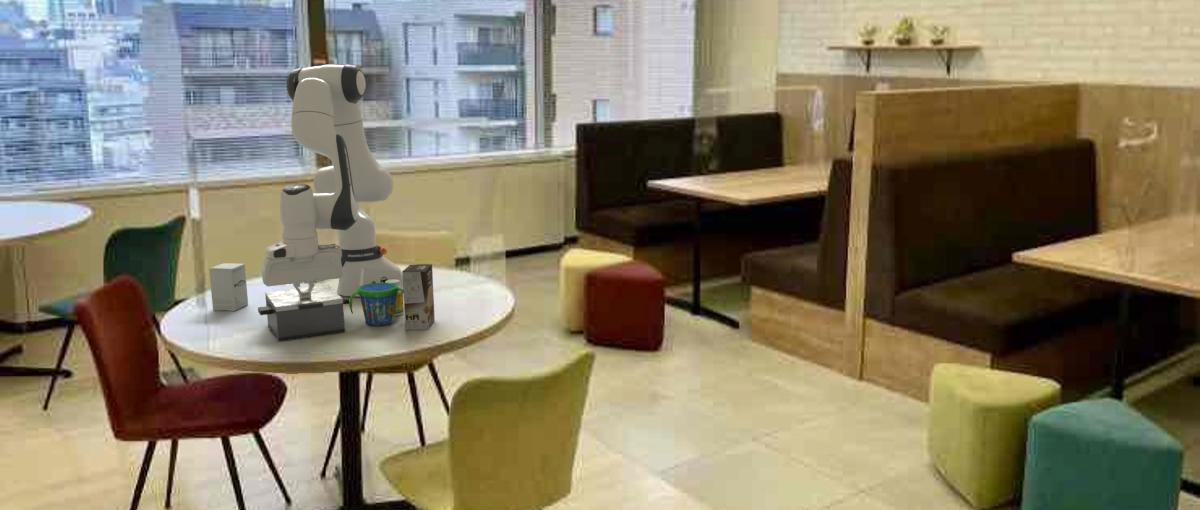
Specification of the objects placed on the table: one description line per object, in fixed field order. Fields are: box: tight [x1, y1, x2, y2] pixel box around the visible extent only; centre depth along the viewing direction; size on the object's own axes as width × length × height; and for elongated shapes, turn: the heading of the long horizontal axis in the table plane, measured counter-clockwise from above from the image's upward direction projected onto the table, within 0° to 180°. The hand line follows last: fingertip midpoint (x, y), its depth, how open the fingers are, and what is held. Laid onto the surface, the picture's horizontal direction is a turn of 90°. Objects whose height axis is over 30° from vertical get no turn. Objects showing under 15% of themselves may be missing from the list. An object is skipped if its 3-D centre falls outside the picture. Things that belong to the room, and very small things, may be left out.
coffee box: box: [401, 263, 436, 331], centre depth 263 cm, size 9×6×16 cm
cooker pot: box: [257, 296, 350, 342], centre depth 262 cm, size 23×17×8 cm
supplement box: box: [208, 262, 249, 312], centre depth 285 cm, size 7×7×13 cm
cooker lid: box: [264, 284, 343, 312], centre depth 260 cm, size 17×19×1 cm
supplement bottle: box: [385, 280, 405, 317], centre depth 276 cm, size 5×5×10 cm
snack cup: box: [348, 283, 403, 327], centre depth 267 cm, size 16×10×10 cm
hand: (305, 298), depth 258 cm, fingers closed, pressing on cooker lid
